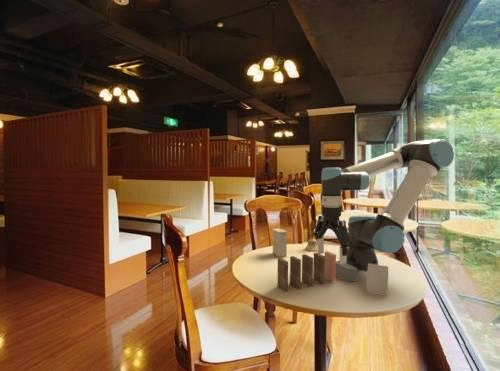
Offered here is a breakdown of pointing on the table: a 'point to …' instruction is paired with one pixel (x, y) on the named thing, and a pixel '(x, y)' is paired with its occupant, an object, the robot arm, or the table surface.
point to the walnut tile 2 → (295, 272)
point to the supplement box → (280, 242)
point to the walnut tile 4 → (318, 268)
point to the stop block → (346, 271)
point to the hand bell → (312, 240)
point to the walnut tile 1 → (282, 274)
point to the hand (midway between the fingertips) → (331, 258)
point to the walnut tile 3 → (307, 270)
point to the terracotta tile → (330, 266)
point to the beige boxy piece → (377, 279)
